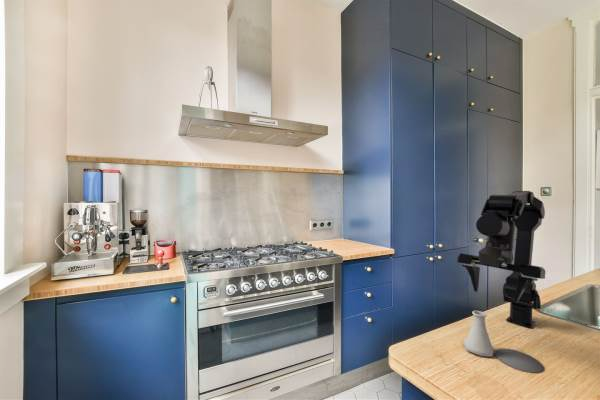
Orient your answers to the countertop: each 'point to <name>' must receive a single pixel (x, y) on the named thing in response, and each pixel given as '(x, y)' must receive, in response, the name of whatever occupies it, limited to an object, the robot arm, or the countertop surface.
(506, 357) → the rubber mat
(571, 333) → the countertop surface
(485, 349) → the flask
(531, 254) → the robot arm
